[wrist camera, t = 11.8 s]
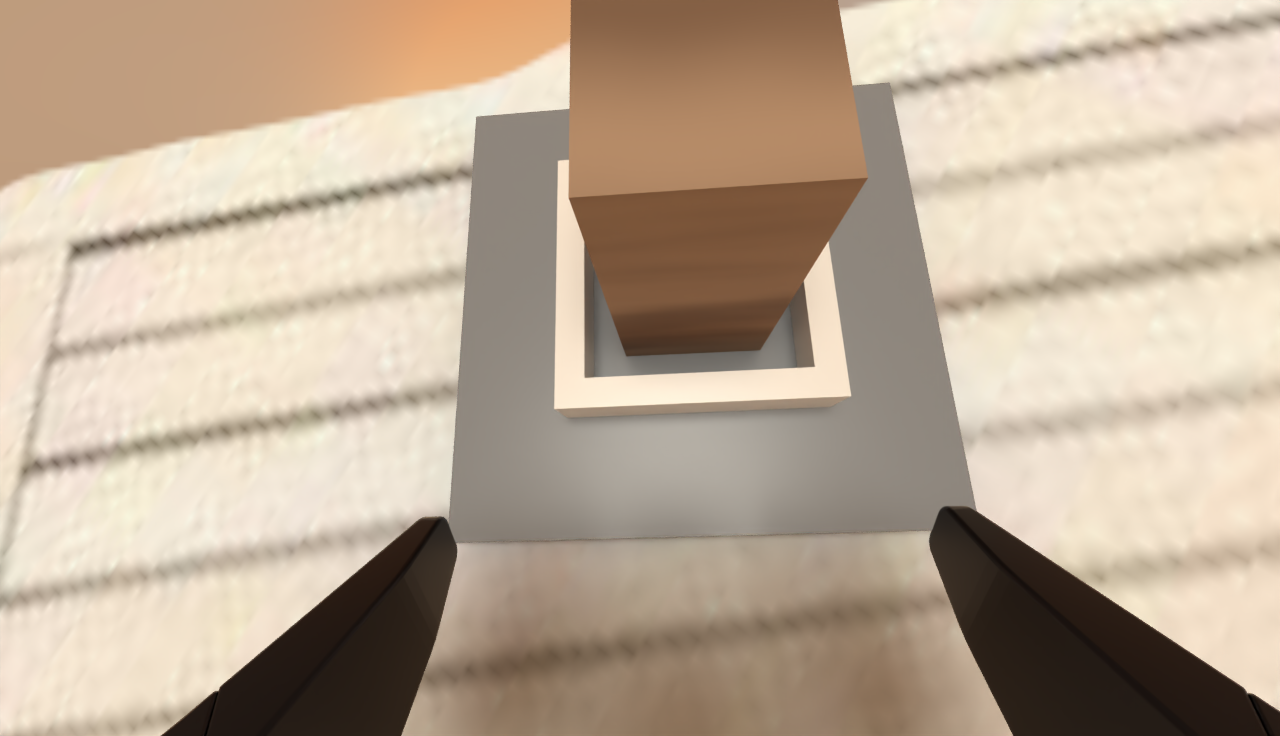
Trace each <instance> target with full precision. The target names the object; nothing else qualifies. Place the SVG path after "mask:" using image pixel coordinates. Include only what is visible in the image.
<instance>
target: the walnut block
mask: <svg viewBox="0 0 1280 736" xmlns="http://www.w3.org/2000/svg"><path fill="white" fill-rule="evenodd" d="M867 179H868V174H867V168H866V162H865V156H864V151H863V145H862V139H861V133H860V127H859V121H858V116H857V110H856V104H855V98H854V92H853V87H852V81H851V75H850V69H849V63H848V58H847V52H846V46H845V40H844V34H843V29H842V23H841V17H840V11H839V5H838V0H571V39H570V115H569V192H568V198H569V201H570V203H571V206H572V209H573V212H574V214H575V217H576V220H577V223H578V225H579V228H580V231H581V234H582V236H583V239H584V242H585V245H586V247H587V250H588V253H589V256H590V258H591V261H592V264H593V267H594V269H595V272H596V275H597V278H598V280H599V283H600V286H601V289H602V291H603V294H604V297H605V300H606V302H607V305H608V308H609V311H610V313H611V316H612V319H613V321H614V324H615V327H616V330H617V332H618V335H619V338H620V341H621V343H622V346H623V349H624V352H625V354H626V356H647V355H669V354H691V353H713V352H735V351H757V350H761V348H762V347H763V345H764V343H765V342H766V340H767V339H768V337H769V335H770V334H771V332H772V331H773V329H774V327H775V326H776V324H777V323H778V321H779V319H780V318H781V316H782V315H783V313H784V311H785V310H786V308H787V307H788V305H789V303H790V302H791V300H792V299H793V297H794V295H795V294H796V292H797V291H798V289H799V287H800V286H801V284H802V283H803V281H804V279H805V278H806V276H807V275H808V273H809V272H810V270H811V268H812V267H813V265H814V264H815V262H816V260H817V259H818V257H819V256H820V254H821V252H822V251H823V249H824V248H825V246H826V244H827V243H828V241H829V240H830V238H831V236H832V235H833V233H834V232H835V230H836V228H837V227H838V225H839V224H840V222H841V220H842V219H843V217H844V216H845V214H846V212H847V211H848V209H849V208H850V206H851V204H852V203H853V201H854V200H855V198H856V196H857V195H858V193H859V192H860V190H861V188H862V187H863V185H864V184H865V182H866V180H867Z"/></svg>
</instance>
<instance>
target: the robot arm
mask: <svg viewBox="0 0 1280 736" xmlns="http://www.w3.org/2000/svg"><path fill="white" fill-rule="evenodd" d="M929 545H930V550H931V553H932V555H933V558H934V561H935V563H936V566H937V568H938V571H939V574H940V576H941V579H942V581H943V584H944V587H945V589H946V592H947V594H948V597H949V600H950V602H951V605H952V608H953V610H954V613H955V615H956V618H957V621H958V623H959V626H960V628H961V630H962V633H963V635H964V638H965V640H966V642H967V644H968V646H969V648H970V650H971V652H972V654H973V656H974V658H975V660H976V662H977V664H978V666H979V668H980V670H981V672H982V674H983V676H984V678H985V680H986V682H987V684H988V686H989V688H990V690H991V692H992V694H993V696H994V698H995V700H996V702H997V704H998V706H999V708H1000V710H1001V712H1002V714H1003V716H1004V718H1005V720H1006V722H1007V724H1008V726H1009V728H1010V730H1011V732H1012V734H1013V736H1280V711H1279V710H1277V709H1275V708H1274V707H1272V706H1271V705H1269V704H1268V703H1266V702H1265V701H1263V700H1262V699H1260V698H1259V697H1257V696H1256V695H1254V694H1252V693H1247V692H1246V690H1245V689H1244V688H1243V687H1242V686H1240V685H1239V684H1237V683H1236V682H1234V681H1233V680H1231V679H1230V678H1228V677H1227V676H1225V675H1224V674H1222V673H1221V672H1219V671H1218V670H1216V669H1215V668H1213V667H1212V666H1210V665H1209V664H1207V663H1206V662H1204V661H1203V660H1201V659H1199V658H1198V657H1196V656H1195V655H1193V654H1192V653H1190V652H1189V651H1187V650H1186V649H1184V648H1183V647H1181V646H1180V645H1178V644H1177V643H1175V642H1174V641H1172V640H1171V639H1169V638H1168V637H1166V636H1165V635H1163V634H1162V633H1160V632H1159V631H1157V630H1156V629H1154V628H1153V627H1151V626H1150V625H1148V624H1147V623H1145V622H1143V621H1142V620H1140V619H1139V618H1137V617H1136V616H1134V615H1133V614H1131V613H1130V612H1128V611H1127V610H1125V609H1124V608H1122V607H1121V606H1119V605H1118V604H1116V603H1115V602H1113V601H1112V600H1110V599H1109V598H1107V597H1106V596H1104V595H1103V594H1101V593H1100V592H1098V591H1097V590H1095V589H1094V588H1092V587H1091V586H1089V585H1087V584H1086V583H1084V582H1083V581H1081V580H1080V579H1078V578H1077V577H1075V576H1074V575H1072V574H1071V573H1069V572H1068V571H1066V570H1065V569H1063V568H1062V567H1060V566H1059V565H1057V564H1056V563H1054V562H1053V561H1051V560H1050V559H1048V558H1047V557H1045V556H1044V555H1042V554H1041V553H1039V552H1038V551H1036V550H1035V549H1033V548H1031V547H1030V546H1028V545H1027V544H1025V543H1024V542H1022V541H1021V540H1019V539H1018V538H1016V537H1015V536H1013V535H1012V534H1010V533H1009V532H1007V531H1006V530H1004V529H1003V528H1001V527H1000V526H998V525H997V524H995V523H994V522H992V521H991V520H989V519H988V518H986V517H985V516H983V515H982V514H980V513H979V512H977V511H975V510H974V509H972V508H970V507H968V506H944V507H942V508H941V509H940V510H939V512H938V515H937V517H936V520H935V523H934V526H933V528H932V531H931V534H930V538H929ZM456 558H457V545H456V542H455V540H454V537H453V534H452V532H451V529H450V527H449V524H448V522H447V520H446V519H445V518H444V517H441V516H439V517H423V518H421V519H419V520H418V521H416V522H415V523H414V524H413V525H412V526H411V527H409V528H408V529H407V530H406V531H405V532H403V533H402V534H401V535H400V536H399V537H397V538H396V539H395V540H394V541H393V542H392V543H390V544H389V545H388V546H387V547H386V548H384V549H383V550H382V551H381V552H380V553H378V554H377V555H376V556H375V557H374V558H373V559H371V560H370V561H369V562H368V563H367V564H365V565H364V566H363V567H362V568H361V569H359V570H358V571H357V572H356V573H355V574H353V575H352V576H351V577H350V578H349V579H348V580H346V581H345V582H344V583H343V584H342V585H340V586H339V587H338V588H337V589H336V590H334V591H333V592H332V593H331V594H330V595H329V596H327V597H326V598H325V599H324V600H323V601H321V602H320V603H319V604H318V605H317V606H315V607H314V608H313V609H312V610H311V611H310V612H308V613H307V614H306V615H305V616H304V617H302V618H301V619H300V620H299V621H298V622H296V623H295V624H294V625H293V626H292V627H290V628H289V629H288V630H287V631H286V632H285V633H283V634H282V635H281V636H280V637H279V638H277V639H276V640H275V641H274V642H273V643H271V644H270V645H269V646H268V647H267V648H266V649H264V650H263V651H262V652H261V653H260V654H258V655H257V656H256V657H255V658H254V659H252V660H251V661H250V662H249V663H248V664H247V665H245V666H244V667H243V668H242V669H241V670H239V671H238V672H237V673H236V674H235V675H233V676H232V677H231V678H230V679H229V680H227V681H226V682H225V683H224V684H223V685H222V686H221V687H220V689H219V691H215V692H213V693H212V694H211V695H209V696H208V697H207V698H206V699H205V700H203V701H202V702H201V703H200V704H199V705H198V706H196V707H195V708H194V709H193V710H192V711H190V712H189V713H188V714H187V715H186V716H184V717H183V718H182V719H181V720H180V721H178V722H177V723H176V724H175V725H173V726H172V727H171V728H170V729H169V730H167V731H166V732H165V733H164V734H162V735H161V736H401V735H402V732H403V729H404V727H405V724H406V721H407V718H408V716H409V713H410V710H411V707H412V705H413V702H414V699H415V696H416V693H417V691H418V688H419V685H420V682H421V680H422V677H423V674H424V671H425V669H426V666H427V663H428V660H429V658H430V655H431V652H432V649H433V646H434V643H435V640H436V636H437V633H438V629H439V626H440V622H441V618H442V614H443V610H444V606H445V602H446V598H447V594H448V590H449V586H450V582H451V578H452V574H453V570H454V566H455V562H456Z"/></svg>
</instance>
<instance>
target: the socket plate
mask: <svg viewBox="0 0 1280 736" xmlns="http://www.w3.org/2000/svg"><path fill="white" fill-rule="evenodd" d="M852 87H853V92H854V98H855V104H856V110H857V116H858V121H859V127H860V133H861V139H862V145H863V151H864V156H865V162H866V168H867V174H868V179H867V180H866V182H865V184H864V185H863V187H862V188H861V190H860V192H859V193H858V195H857V196H856V198H855V200H854V201H853V203H852V204H851V206H850V208H849V209H848V211H847V212H846V214H845V216H844V217H843V219H842V220H841V222H840V224H839V225H838V227H837V228H836V230H835V232H834V233H833V235H832V236H831V238H830V240H829V241H828V243H827V244H826V246H825V248H824V249H823V251H822V252H821V254H820V256H819V257H818V259H817V260H816V262H815V264H814V265H813V267H812V268H811V270H810V272H809V273H808V275H807V276H806V278H805V279H804V281H803V283H802V284H801V286H800V287H799V289H798V291H797V292H796V294H795V295H794V297H793V299H792V300H791V302H790V303H789V305H788V307H787V308H786V310H785V311H784V313H783V315H782V316H781V318H780V319H779V321H778V323H777V324H776V326H775V327H774V329H773V331H772V332H771V334H770V335H769V337H768V339H767V340H766V342H765V343H764V345H763V347H762V348H761V350H757V351H735V352H713V353H691V354H669V355H647V356H626V354H625V352H624V349H623V346H622V343H621V341H620V338H619V335H618V332H617V330H616V327H615V324H614V321H613V319H612V316H611V313H610V311H609V308H608V305H607V302H606V300H605V297H604V294H603V291H602V289H601V286H600V283H599V280H598V278H597V275H596V272H595V269H594V267H593V264H592V261H591V258H590V256H589V253H588V250H587V247H586V245H585V242H584V239H583V236H582V234H581V231H580V228H579V225H578V223H577V220H576V217H575V214H574V212H573V209H572V206H571V203H570V201H569V198H568V192H569V115H570V109H564V110H552V111H540V112H528V113H516V114H503V115H491V116H479V117H476V129H475V144H474V159H473V173H472V188H471V203H470V218H469V232H468V247H467V262H466V276H465V291H464V306H463V321H462V335H461V350H460V365H459V380H458V394H457V409H456V424H455V439H454V453H453V468H452V483H451V497H450V512H449V527H450V529H451V532H452V534H453V537H454V540H455V542H456V543H465V542H504V541H543V540H581V539H620V538H659V537H697V536H736V535H774V534H813V533H852V532H890V531H929V530H932V528H933V526H934V523H935V520H936V517H937V515H938V512H939V510H940V509H941V508H942V507H944V506H968V507H970V508H972V509H974V510H975V511H976V506H975V501H974V496H973V491H972V486H971V481H970V476H969V471H968V466H967V461H966V457H965V452H964V447H963V442H962V437H961V432H960V427H959V422H958V417H957V412H956V407H955V402H954V397H953V392H952V388H951V383H950V378H949V373H948V368H947V363H946V358H945V353H944V348H943V343H942V338H941V333H940V328H939V323H938V318H937V314H936V309H935V304H934V299H933V294H932V289H931V284H930V279H929V274H928V269H927V264H926V259H925V254H924V249H923V244H922V239H921V235H920V230H919V225H918V220H917V215H916V210H915V205H914V200H913V195H912V190H911V185H910V180H909V175H908V170H907V165H906V161H905V156H904V151H903V146H902V141H901V136H900V131H899V126H898V121H897V116H896V111H895V106H894V101H893V96H892V91H891V87H890V83H880V84H868V85H855V86H852Z"/></svg>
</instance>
